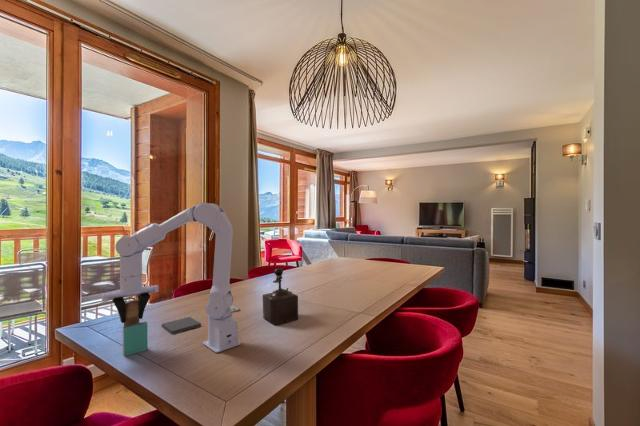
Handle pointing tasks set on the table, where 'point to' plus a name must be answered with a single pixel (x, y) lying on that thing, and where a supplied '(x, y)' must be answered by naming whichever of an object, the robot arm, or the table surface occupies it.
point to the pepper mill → (280, 304)
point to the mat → (180, 325)
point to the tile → (135, 338)
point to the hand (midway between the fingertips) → (131, 320)
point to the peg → (131, 312)
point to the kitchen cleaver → (234, 308)
